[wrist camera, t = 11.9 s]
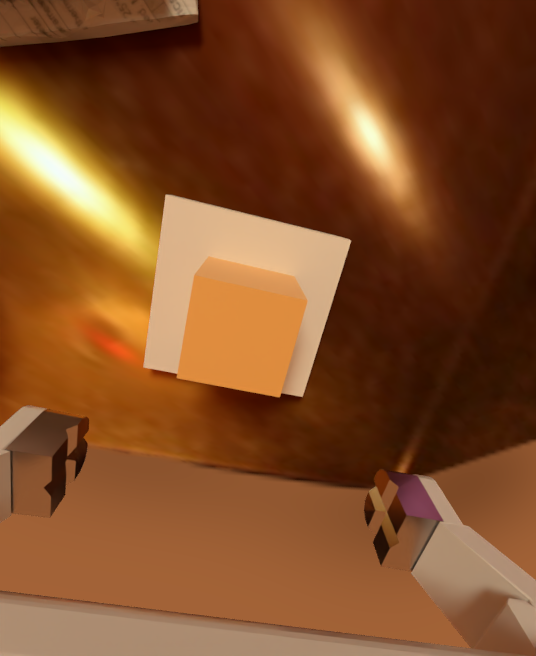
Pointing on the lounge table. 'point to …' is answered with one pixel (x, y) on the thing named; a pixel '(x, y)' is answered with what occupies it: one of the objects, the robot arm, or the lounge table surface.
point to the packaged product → (88, 18)
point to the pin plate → (245, 248)
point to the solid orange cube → (241, 327)
